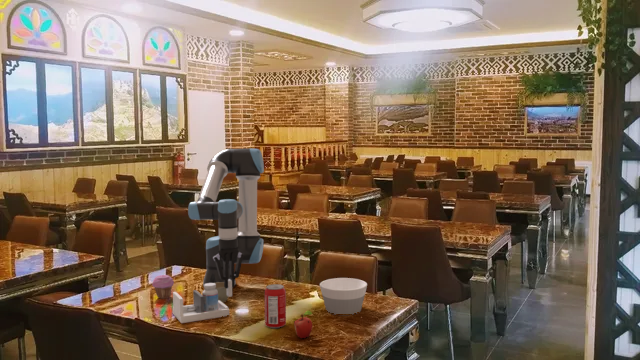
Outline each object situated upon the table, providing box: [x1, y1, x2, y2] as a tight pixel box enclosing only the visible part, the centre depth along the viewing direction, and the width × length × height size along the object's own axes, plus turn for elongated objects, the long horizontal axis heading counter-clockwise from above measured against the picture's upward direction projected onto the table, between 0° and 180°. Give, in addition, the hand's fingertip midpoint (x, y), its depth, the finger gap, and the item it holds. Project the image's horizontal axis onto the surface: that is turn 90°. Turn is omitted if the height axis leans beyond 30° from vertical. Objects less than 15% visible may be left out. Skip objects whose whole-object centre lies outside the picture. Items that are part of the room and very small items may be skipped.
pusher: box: [187, 289, 204, 313], centre depth 227 cm, size 5×10×8 cm, turn 28°
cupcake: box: [152, 274, 175, 299], centre depth 253 cm, size 9×9×10 cm
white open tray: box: [172, 291, 230, 324], centre depth 228 cm, size 19×13×9 cm
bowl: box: [319, 277, 368, 315], centre depth 233 cm, size 19×19×11 cm
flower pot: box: [215, 282, 229, 303], centre depth 246 cm, size 10×10×7 cm
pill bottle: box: [201, 283, 218, 312], centre depth 230 cm, size 6×6×11 cm
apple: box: [293, 310, 313, 339], centre depth 201 cm, size 8×7×10 cm
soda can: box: [263, 284, 287, 329], centre depth 213 cm, size 8×8×15 cm
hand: (229, 295), depth 233 cm, fingers closed
